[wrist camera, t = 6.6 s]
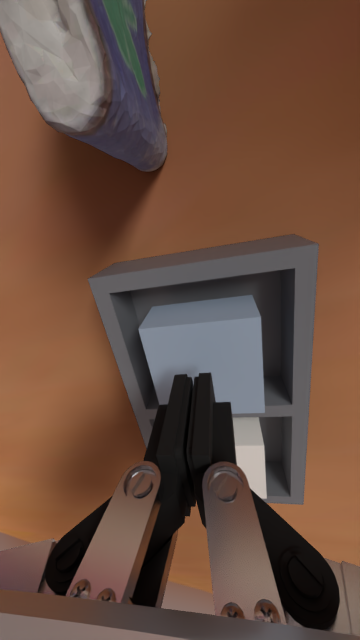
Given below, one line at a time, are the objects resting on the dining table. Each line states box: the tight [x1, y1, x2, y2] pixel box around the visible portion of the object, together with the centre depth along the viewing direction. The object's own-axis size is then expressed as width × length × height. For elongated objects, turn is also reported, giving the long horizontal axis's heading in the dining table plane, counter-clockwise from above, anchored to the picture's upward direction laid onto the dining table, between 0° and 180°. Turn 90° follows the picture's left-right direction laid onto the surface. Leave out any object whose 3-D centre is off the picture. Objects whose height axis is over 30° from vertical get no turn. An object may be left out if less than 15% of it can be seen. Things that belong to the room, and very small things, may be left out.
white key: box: [233, 417, 267, 499], centre depth 19 cm, size 6×6×3 cm
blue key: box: [138, 295, 265, 414], centre depth 14 cm, size 6×6×3 cm
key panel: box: [88, 234, 319, 505], centre depth 18 cm, size 12×21×4 cm, turn 10°
